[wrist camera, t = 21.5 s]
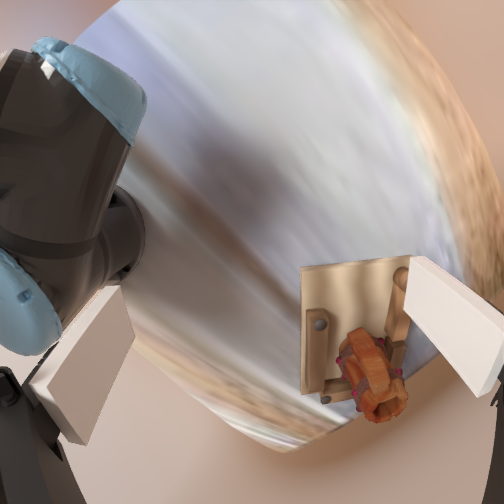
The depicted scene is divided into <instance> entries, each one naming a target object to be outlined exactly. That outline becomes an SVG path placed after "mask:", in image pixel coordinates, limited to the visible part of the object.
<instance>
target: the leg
mask: <svg viewBox="0 0 504 504" xmlns="http://www.w3.org/2000/svg"><path fill="white" fill-rule="evenodd" d="M408 273H409V269H408V268H407V267H404V266H402V267H399V268H398V269H396V271H395V272H394V274H393V281H394V282H393V287H392V292H391V298H390V303H389V308H388V313H387V318H386V322H385V327H384V331H385V332H386V333H387V335H388V336H389V338H390V339H391V341H392V342H394V341H400V340H406V337H407V333H408V329H409V326H410V322H411V317H410V316H409V315H408V314H407V313H406V312H405V311H404V310H403V308H404V301H405V295H406V288H407V281H408Z"/></svg>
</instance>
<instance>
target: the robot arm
mask: <svg viewBox="0 0 504 504" xmlns="http://www.w3.org/2000/svg"><path fill="white" fill-rule="evenodd" d="M31 51H32V53H29V52H26V51H21V50H18V49H13V48H10V49H8V50H7V51H5V52H3V53H2V54H0V344H1V345H2V346H4V347H5V348H7V349H8V350H10V351H12V352H14V353H17V354H20V355H23V356H30V355H32V356H36V355H39V354H41V353H43V352H44V351H46V350H47V349H48V348H49V347H50V346H51V345H52V344H53V343H54V342H55V341H57V340H58V339H59V338H60V337H61V334H62V332H63V331H64V330H65V329H66V327H67V326H68V325H69V324H70V322H71V321H72V320H73V319H74V318H75V316H76V315H77V314H78V313H79V311H80V310H81V309H82V308H83V307H84V306H85V304H86V303H87V302H88V301H89V300H90V298H91V297H92V296H93V295H94V294H95V293H96V291H97V290H99V289H102V288H103V290H102V291H101V292H100V293H99V294H98V295H97V297H96V298H95V299H94V300H93V301H92V302H91V304H90V305H89V306H88V307H87V308H86V310H85V311H84V312H83V313H82V314H81V316H80V317H79V318H78V319H77V320H76V322H75V323H74V324H73V325H72V327H71V328H70V329H69V330H68V332H67V333H66V334H65V336H64V337H63V338H62V339H61V341H60V342H57V343H56V344H55V345H53V346H52V347H51V348H49V349H48V351H47V352H46V353H45V354H44V356H43V359H41V360H40V361H39V362H38V365H37V366H35V368H34V369H33V370H32V372H31V373H30V374H29V376H28V377H27V379H26V380H25V381H24V383H23V384H22V386H20V384H19V382H18V381H17V379H16V377H15V376H14V374H13V372H12V370H11V369H10V368H8V367H2V366H1V367H0V504H87V503H86V501H85V499H84V497H83V495H82V493H81V491H80V489H79V486H78V484H77V482H76V480H75V478H74V475H73V473H72V470H71V468H70V465H69V463H68V460H67V458H66V455H65V453H64V450H63V447H62V444H61V443H60V442H59V440H58V439H57V438H58V436H59V434H60V432H62V434H63V435H64V436H65V438H66V439H67V440H68V441H69V442H71V443H76V444H80V445H84V446H86V445H87V444H88V441H89V439H90V436H91V434H92V431H93V429H94V427H95V424H96V422H97V419H98V417H99V415H100V412H101V410H102V408H103V405H104V403H105V401H106V399H107V396H108V394H109V392H110V389H111V387H112V385H113V383H114V381H115V379H116V376H117V374H118V372H119V370H120V368H121V365H122V363H123V361H124V359H125V357H126V355H127V353H128V350H129V349H130V347H131V345H132V343H133V341H134V339H135V334H134V331H133V328H132V325H131V322H130V318H129V315H128V312H127V308H126V305H125V302H124V298H123V295H122V291H121V287H120V285H116V286H112V285H115V284H117V283H119V282H121V281H122V280H123V279H125V278H126V277H127V276H128V275H129V274H130V273H131V272H132V270H133V269H134V268H135V267H136V265H137V264H138V262H139V260H140V258H141V256H142V253H143V250H144V244H145V229H144V223H143V220H142V216H141V214H140V211H139V209H138V207H137V206H136V204H135V202H134V201H133V200H132V198H131V197H130V196H129V195H128V194H127V193H126V192H125V191H124V190H123V189H121V188H120V187H118V186H117V185H116V183H117V181H118V178H119V176H120V173H121V171H122V168H123V166H124V163H125V161H126V158H127V156H128V154H129V151H130V149H131V148H133V147H134V144H135V141H134V138H135V135H136V133H137V130H138V128H139V125H140V123H141V121H142V118H143V116H144V114H145V111H146V108H147V97H146V94H145V92H144V90H143V89H142V87H141V86H140V85H139V84H138V83H137V82H136V81H135V80H134V79H133V78H131V77H130V76H129V75H128V74H126V73H125V72H123V71H122V70H120V69H119V68H117V67H116V66H114V65H113V64H111V63H109V62H108V61H106V60H104V59H102V58H101V57H99V56H97V55H95V54H93V53H91V52H89V51H87V50H85V49H83V48H81V47H78V46H76V45H72V44H71V45H70V44H68V43H66V42H63V41H61V40H59V39H57V38H53V37H42V38H40V39H39V40H38V41H37V42H36V43H35V44H33V45H32V48H31ZM403 310H404V311H405V312H406V313H407V314H408V315H409V316H410V317H411V318H412V320H413V321H414V322H415V323H416V324H417V325H418V326H419V328H420V329H421V330H422V331H423V332H424V333H425V334H426V336H427V337H428V338H429V339H430V340H431V341H432V343H433V344H434V345H435V346H436V347H437V348H438V350H439V351H440V352H441V353H442V354H443V356H444V357H445V358H446V359H447V360H448V362H449V363H450V364H451V365H452V367H453V368H454V369H455V370H456V372H457V373H458V374H459V375H460V377H462V379H463V380H464V382H465V383H466V384H467V385H468V387H469V388H470V389H471V390H472V392H473V393H474V394H475V396H476V397H477V398H478V397H480V396H482V395H484V394H486V393H488V392H490V391H491V390H492V388H493V386H494V384H495V382H496V380H497V378H498V379H499V380H500V382H501V385H500V387H499V389H498V391H497V393H496V394H495V396H494V398H493V400H492V402H491V405H490V406H493V405H494V403H495V401H496V400H498V403H497V405H496V407H497V421H496V431H495V439H494V447H493V454H492V460H491V465H490V470H489V475H488V480H487V485H486V489H485V493H484V497H483V501H482V504H504V314H503V313H502V312H501V311H500V310H499V309H497V308H496V307H495V306H494V305H493V304H491V303H490V302H489V301H486V300H484V299H482V298H481V297H480V296H478V295H477V294H476V293H474V292H473V291H472V290H471V289H469V288H468V287H467V286H465V285H464V284H462V283H461V282H460V281H458V280H457V279H456V278H454V277H453V276H451V275H450V274H449V273H447V272H446V271H444V270H443V269H442V268H440V267H439V266H437V265H436V264H435V263H433V262H432V261H430V260H429V259H427V258H426V257H424V256H417V257H410V265H409V273H408V281H407V288H406V295H405V301H404V308H403Z"/></svg>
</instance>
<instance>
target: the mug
mask: <svg viewBox="0 0 504 504" xmlns="http://www.w3.org/2000/svg"><path fill="white" fill-rule="evenodd" d="M383 344H384V339H383V338H381V337H380V338H377V337H374V336H372V335H371V334H369V333H367V332H366V330H365V329H364V328H363V327H359V328H357V329H355V330H353V331H351V332H349V333H347V338H346V339H345V340H343V342H342V343H341V344H340V346H339V356H338V357H337V358H336V363H337V364H338V365H339V368H340V370H341V372H342V376H341V377H342V379H343V380H347V379H349V380H350V382H351V385H352V388H353V391H352V392H351V395H352V396H353V397H354V401H355V403H356V405H357V407H356V410H357V411H358V412H362V411H363V412H364V414H365V418H366V419H368V420H369V421H373V422H374V423H382V422H386V421H390V420H391V417H392V416H395V417H397V416H398V415H399V414H400V413H401V412H402V411H403V410H404V408H405V407H406V401H407V400H408V394H407V392H406V390H405V387H404V379H403V378H402V373H403V372H402V369H399V368H397V369H394V368H393V366H392V365H391V364H390V362H389V361H388V360H387V351H386V348H385V346H384V345H383Z"/></svg>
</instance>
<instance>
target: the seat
mask: <svg viewBox="0 0 504 504" xmlns="http://www.w3.org/2000/svg"><path fill="white" fill-rule="evenodd" d="M410 257H413V256H412V255H406V256H398V257H389V258H381V259H372V260H363V261H354V262H345V263H336V264H327V265H317V266H308V267H300V302H301V370H300V391H301V395H305V394H312V393H318V392H319V395H320V398H321V400H320V401H321V403H322V405H323V404H328V403H334V402H339V401H344V400H349V399H354V397H353V396H352V395H351V392H352V391H353V388H352V385H351V382H350V380H349V379H347V380H343V379H342V377H341V376H342V372H341V370H340V368H339V365H338V364H337V363H336V358H337V357H338V356H339V346H340V344H341V343H342V342H343V340H345V339H346V338H347V333H349V332H351V331H353V330H355V329H357V328H359V327H363V328H364V329H365V330H366V332H367V333H369V334H371V335H372V336H374V337H377V338H380V337H381V338H383V339H384V344H383V345H384V346H385V348H386V351H387V360H388V361H389V362H390V364H391V365H392V366H393V368H394V369H397V368H399V369H401V366H402V363H403V359H404V355H405V351H406V347H407V345H406V344H405V343H404V341H403V340H400V341H394V342H392V341H391V339H390V338H389V336H388V335H387V333H386V332H385V331H384V327H385V322H386V318H387V313H388V308H389V303H390V298H391V292H392V287H393V282H394V281H393V274H394V272H395V271H396V269H398V268H399V267H402V266H404V267H407V268H408V269H409V265H410Z"/></svg>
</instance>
